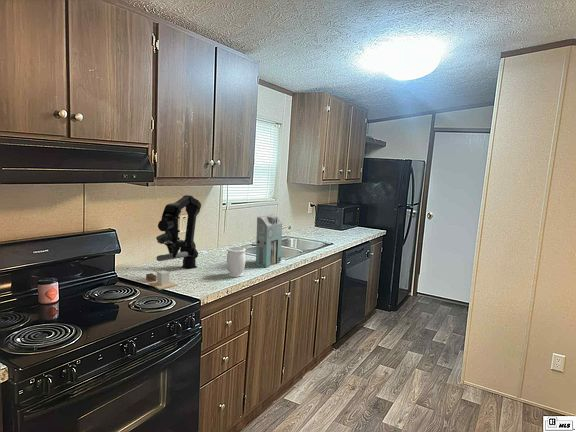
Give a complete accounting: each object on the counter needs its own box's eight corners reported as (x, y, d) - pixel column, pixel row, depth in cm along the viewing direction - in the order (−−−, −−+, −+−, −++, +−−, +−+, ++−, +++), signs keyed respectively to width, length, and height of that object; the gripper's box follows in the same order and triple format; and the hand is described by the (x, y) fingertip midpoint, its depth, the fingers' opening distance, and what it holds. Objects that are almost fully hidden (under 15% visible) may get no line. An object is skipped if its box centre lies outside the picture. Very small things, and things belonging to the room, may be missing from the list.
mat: (166, 279, 210) (166, 278, 210) (177, 285, 201) (177, 284, 201) (148, 283, 203) (148, 282, 203) (159, 289, 194) (159, 288, 194)
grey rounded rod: (186, 256, 221) (186, 250, 221) (189, 257, 219) (189, 251, 218) (155, 260, 209) (155, 255, 208) (158, 262, 207) (157, 256, 206)
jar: (239, 279, 216) (240, 251, 214) (222, 276, 220) (223, 249, 218) (248, 274, 226) (249, 248, 224) (232, 271, 230) (232, 245, 227)
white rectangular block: (164, 281, 205) (164, 270, 204) (169, 284, 202) (169, 272, 201) (157, 283, 202) (157, 271, 202) (161, 285, 199) (161, 273, 198)
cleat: (151, 278, 211) (151, 273, 210) (156, 281, 207) (156, 275, 207) (146, 279, 209) (146, 274, 208) (150, 282, 205) (150, 276, 205)
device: (266, 268, 240) (267, 218, 235) (255, 265, 244) (256, 217, 239) (280, 262, 253) (282, 215, 249) (270, 260, 257) (272, 214, 253)
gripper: (150, 226, 212) (150, 255, 215) (166, 232, 199) (166, 263, 201) (169, 225, 220) (169, 252, 222) (186, 230, 207) (186, 259, 209)
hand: (172, 256), depth 214 cm, fingers closed on grey rounded rod, 3 cm apart
